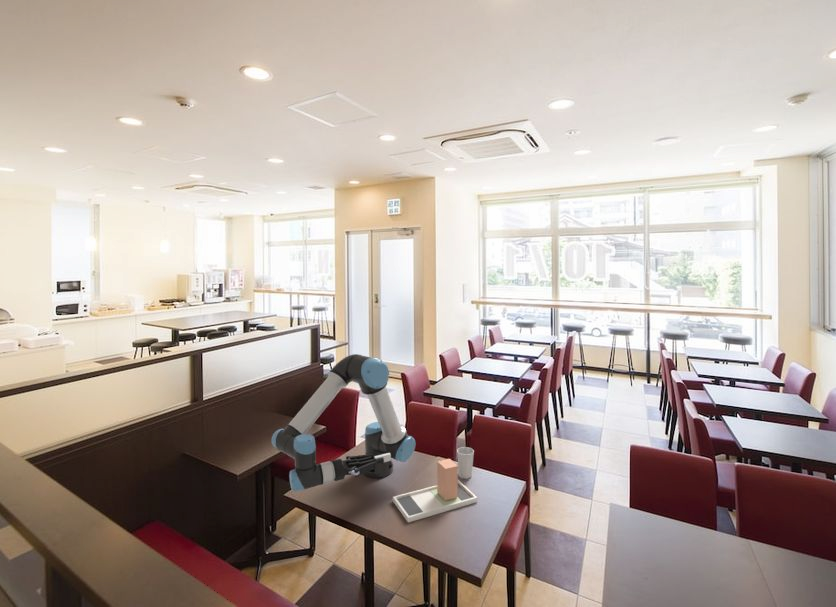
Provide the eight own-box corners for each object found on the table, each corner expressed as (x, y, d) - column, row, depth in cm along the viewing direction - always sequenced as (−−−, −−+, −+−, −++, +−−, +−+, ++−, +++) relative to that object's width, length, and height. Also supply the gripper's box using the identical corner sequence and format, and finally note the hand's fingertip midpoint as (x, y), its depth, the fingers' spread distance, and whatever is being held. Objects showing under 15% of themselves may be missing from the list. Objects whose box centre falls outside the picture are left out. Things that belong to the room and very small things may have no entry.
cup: (460, 469, 198) (460, 445, 196) (475, 473, 194) (476, 449, 193) (454, 477, 191) (454, 452, 189) (470, 481, 187) (470, 456, 186)
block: (437, 492, 175) (437, 461, 174) (449, 489, 178) (449, 458, 176) (445, 500, 169) (445, 468, 167) (457, 497, 171) (457, 465, 170)
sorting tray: (392, 501, 171) (392, 496, 171) (458, 483, 185) (458, 479, 184) (408, 522, 157) (408, 517, 157) (477, 501, 171) (477, 497, 170)
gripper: (328, 472, 160) (384, 458, 170) (337, 489, 148) (396, 473, 159) (327, 454, 159) (384, 441, 169) (336, 469, 147) (396, 454, 158)
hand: (390, 456), depth 164 cm, fingers closed
